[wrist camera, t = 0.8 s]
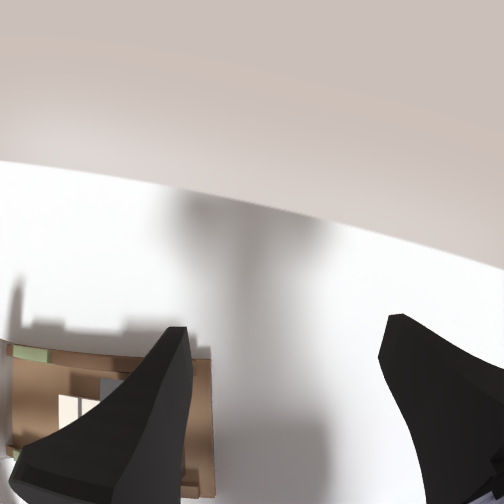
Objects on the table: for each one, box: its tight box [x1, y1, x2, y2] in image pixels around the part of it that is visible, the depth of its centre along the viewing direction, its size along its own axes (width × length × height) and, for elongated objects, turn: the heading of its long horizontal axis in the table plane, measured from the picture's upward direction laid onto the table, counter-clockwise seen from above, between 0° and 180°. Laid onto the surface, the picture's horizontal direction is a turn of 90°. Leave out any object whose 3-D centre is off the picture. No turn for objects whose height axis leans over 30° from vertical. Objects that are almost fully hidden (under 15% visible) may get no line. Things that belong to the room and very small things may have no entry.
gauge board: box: [0, 339, 216, 499], centre depth 18 cm, size 11×20×6 cm, turn 92°
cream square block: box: [59, 395, 100, 430], centre depth 19 cm, size 4×4×2 cm
